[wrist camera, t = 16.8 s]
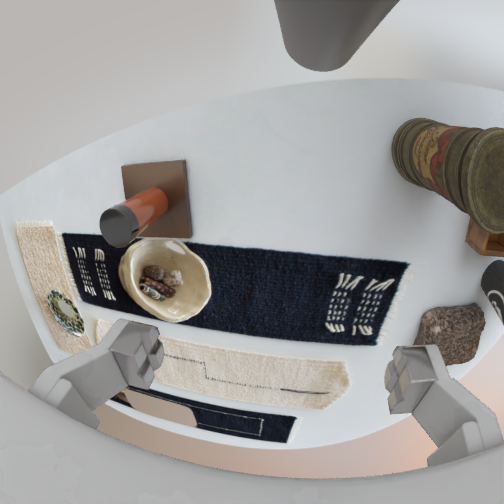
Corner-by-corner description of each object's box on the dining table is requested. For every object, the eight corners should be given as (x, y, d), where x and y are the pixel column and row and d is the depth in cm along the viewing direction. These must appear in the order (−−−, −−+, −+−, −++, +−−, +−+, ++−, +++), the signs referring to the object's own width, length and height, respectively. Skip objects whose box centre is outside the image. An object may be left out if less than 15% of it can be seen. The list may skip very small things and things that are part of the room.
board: (124, 165, 37) (120, 166, 36) (185, 159, 35) (182, 160, 34) (134, 233, 42) (131, 236, 41) (192, 235, 40) (190, 238, 39)
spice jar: (138, 187, 37) (96, 209, 28) (167, 185, 36) (128, 208, 27) (143, 218, 39) (104, 246, 30) (171, 218, 38) (135, 248, 29)
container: (453, 129, 27) (544, 149, 11) (440, 191, 31) (519, 247, 15) (396, 108, 28) (475, 104, 12) (384, 175, 32) (450, 225, 16)
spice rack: (480, 150, 27) (498, 155, 23) (511, 160, 26) (530, 166, 22) (465, 241, 33) (480, 255, 29) (496, 244, 32) (511, 257, 28)
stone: (418, 375, 39) (410, 351, 44) (475, 361, 36) (464, 340, 42) (436, 331, 34) (423, 306, 39) (496, 317, 31) (482, 296, 37)
